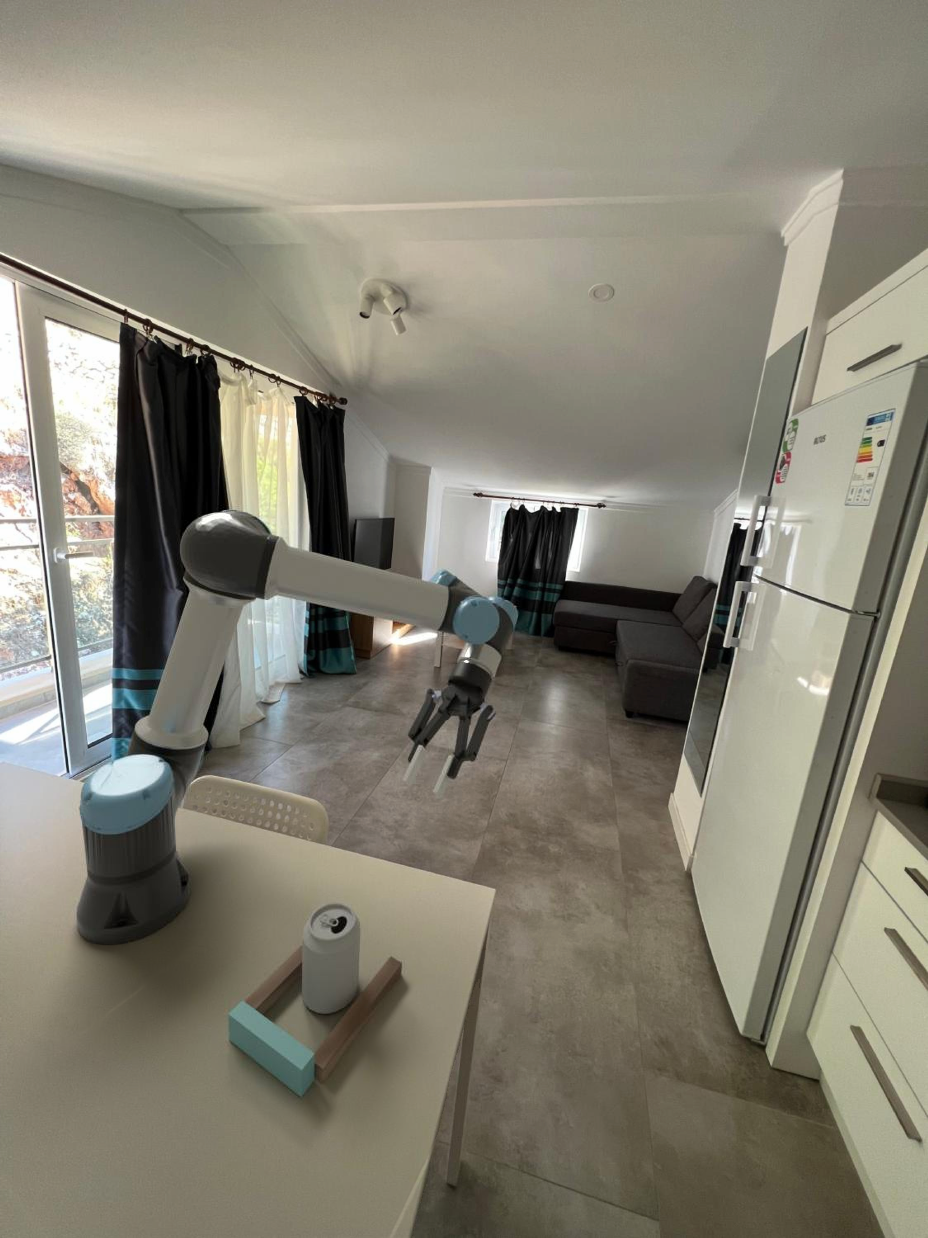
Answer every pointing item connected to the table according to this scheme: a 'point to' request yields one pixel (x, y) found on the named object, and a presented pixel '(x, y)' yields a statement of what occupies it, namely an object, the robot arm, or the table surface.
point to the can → (330, 958)
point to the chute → (350, 1021)
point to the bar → (272, 1048)
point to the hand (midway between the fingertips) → (422, 789)
